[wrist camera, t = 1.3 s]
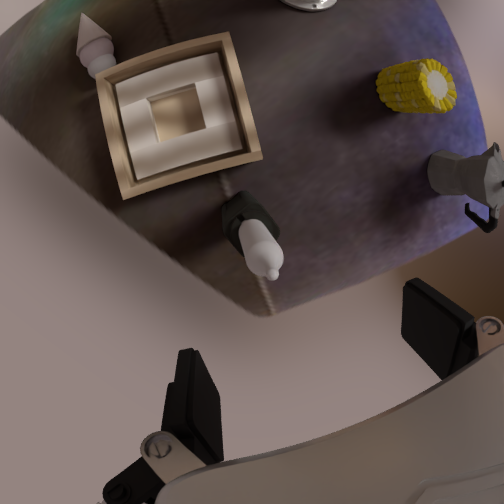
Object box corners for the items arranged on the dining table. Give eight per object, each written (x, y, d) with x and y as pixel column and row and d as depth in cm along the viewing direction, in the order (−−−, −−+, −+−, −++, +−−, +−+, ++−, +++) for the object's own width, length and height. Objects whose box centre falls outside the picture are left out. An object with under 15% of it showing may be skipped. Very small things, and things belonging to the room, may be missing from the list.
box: (109, 84, 33) (95, 74, 27) (227, 47, 33) (228, 31, 28) (135, 194, 39) (123, 200, 33) (256, 159, 40) (263, 159, 34)
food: (404, 78, 38) (401, 121, 41) (364, 55, 34) (360, 102, 38) (465, 76, 26) (464, 127, 29) (429, 43, 22) (428, 100, 25)
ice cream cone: (92, 17, 27) (116, 78, 34) (61, 27, 24) (84, 91, 31) (104, -3, 23) (130, 62, 30) (69, 6, 20) (94, 74, 27)
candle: (239, 233, 43) (265, 323, 19) (218, 208, 41) (218, 272, 18) (265, 213, 42) (324, 279, 19) (244, 187, 41) (282, 222, 17)
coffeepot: (425, 136, 41) (497, 137, 24) (455, 143, 42) (521, 148, 25) (423, 215, 46) (491, 241, 29) (452, 215, 47) (516, 238, 30)
